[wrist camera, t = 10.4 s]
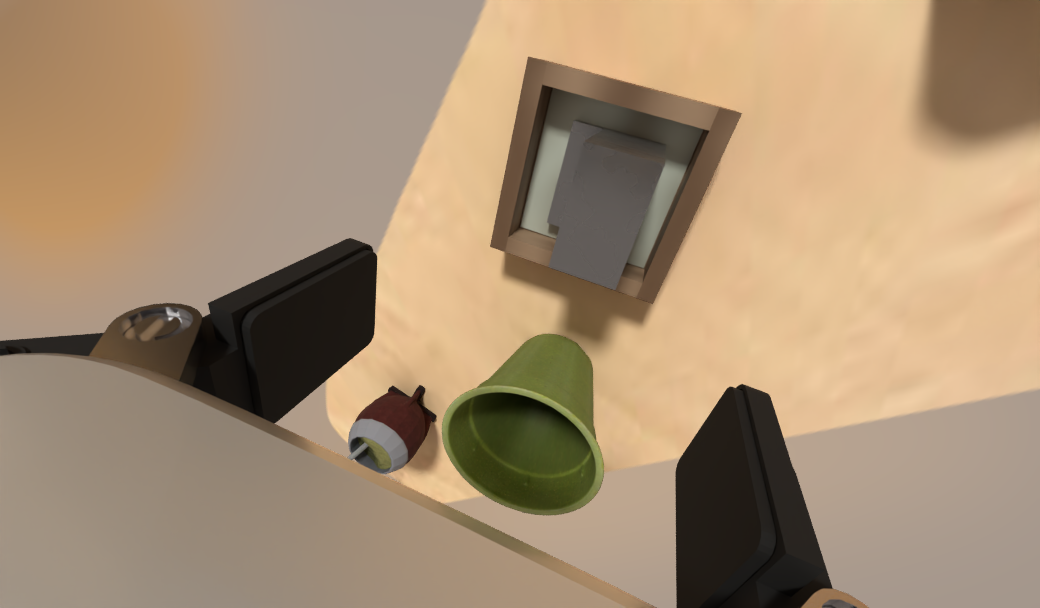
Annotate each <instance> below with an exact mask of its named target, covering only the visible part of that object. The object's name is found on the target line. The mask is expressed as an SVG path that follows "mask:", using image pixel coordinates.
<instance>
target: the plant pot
mask: <svg viewBox="0 0 1040 608" xmlns="http://www.w3.org/2000/svg"><path fill="white" fill-rule="evenodd" d="M442 439H443V444H444V447H445V450H446V452H447V455H448V457H449V458H450V460H451V462H452V464H453V465H454V466H455V468H456V469H457V471H458V472H459V473H460V474H461V475H462V477H463V478H464V479H465V480H466V481H467V482H468V483H469V484H471V485H472V486H473V487H474V488H475V489H477V490H478V491H479V492H481V493H482V494H483V495H485V496H486V497H488V498H490V499H492V500H493V501H495V502H497V503H499V504H501V505H504V506H506V507H509V508H512V509H515V510H518V511H521V512H524V513H530V514H535V515H559V514H564V513H568V512H571V511H574V510H577V509H579V508H581V507H583V506H585V505H586V504H587V503H588V502H590V501H591V500H592V499H593V498H594V497H595V495H596V494H597V493H598V491H599V489H600V487H601V484H602V481H603V476H604V464H603V458H602V454H601V451H600V448H599V446H598V443H597V441H596V434H595V429H594V426H593V368H592V363H591V361H590V359H589V357H588V356H587V355H586V354H585V352H584V351H583V350H582V349H581V348H580V346H579V345H578V344H577V343H575V342H574V341H572V340H570V339H568V338H566V337H563V336H560V335H555V334H542V335H538V336H535V337H533V338H531V339H529V340H528V341H526V342H525V343H524V344H523V345H522V346H521V347H520V348H519V349H518V350H517V351H516V352H515V353H514V354H513V355H512V356H511V357H510V358H509V359H508V360H507V361H506V362H505V363H504V364H503V365H502V366H501V367H500V368H499V369H498V370H497V371H496V372H495V373H494V374H493V375H492V376H491V377H490V378H489V379H488V380H486V381H485V382H483V383H482V384H480V385H479V386H478V387H477V388H475V389H472V390H470V391H468V392H465V393H464V394H462V395H460V396H459V397H458V398H457V399H455V400H454V401H453V403H452V404H451V405H450V406H449V408H448V409H447V411H446V413H445V415H444V418H443V423H442Z"/></svg>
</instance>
